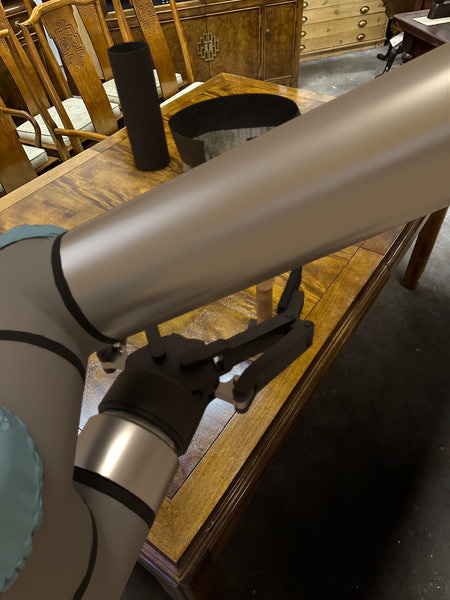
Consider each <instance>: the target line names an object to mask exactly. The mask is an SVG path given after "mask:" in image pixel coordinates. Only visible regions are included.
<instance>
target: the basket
mask: <svg viewBox="0 0 450 600" xmlns="http://www.w3.org/2000/svg"><path fill="white" fill-rule="evenodd" d="M300 115H302V113H301V111H300V108H299V105H298V104H297V102H295V101H294V100H292V99H291V98H290V97H286V96H285V95H279V94H275V93H274V94H273V93H265V92H245V93H244V92H243V93H234V94H227V95H222V96H216V97H212V98H207V99H204V100H201V101H198V102H195V103H192V104H189V105H187V106H185V107H183V108H181V109H180V110H178V111H176V112H174V113H173V114H172V115H171V116H170V117H169V118H168V120H167V125H168V127H169V131H170V133H171V134H170V135H171V136H172V137H171V138H172V139H173V141H174V145H175V147H176V149H177V152H178V154H179V157H180V159H181V162H182V171H183V172H184V173H185V172H187V171H189V170H191V169H193V168H195V167H197V166H199V165H201V164H203V163H205V162H207V161H209V160H211V159H213V158H215V157H217V156H219V155H221V154H223V153H225V152H227V151H229V150H231V149H233V148H235V147H237V146H239V145H241V144H243V143H245V142H248V141H250V140H252V139H254V138H256V137H258V136H260V135H262V134H264V133H266V132H268V131H270V130H272V129H274V128H276V127H278V126H280V125H282V124H284V123H286V122H288V121H290V120H292V119H294V118H296V117H298V116H300Z"/></svg>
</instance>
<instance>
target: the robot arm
mask: <svg viewBox="0 0 450 600" xmlns="http://www.w3.org/2000/svg"><path fill="white" fill-rule="evenodd" d="M447 207H450V40H449V41H447V42H445V43H443V44H442V45H439V46H437V47H435V48H433V49H431V50H429V51H427V52H425V53H423V54H420V55H419V56H417V57H415V58H413V59H410V60H409V61H407V62H405V63H403V64H401V65H399V66H397V67H395V68H393V69H391V70H389V71H387V72H385V73H382V74H381V75H379V76H377V77H375V78H373V79H370V80H368V81H366V82H365V83H363V84H361V85H358V86H356V87H354V88H352V89H350V90H348V91H347V92H344V93H342V94H340V95H338V96H336V97H334V98H332V99H330V100H329V101H328V100H327V101H326V102H325V103H322V104H320V105H317V106H316V107H314V108H312V109H310V110H308V111H306V112H303V113H301V115H300V116H298V117H296V118H294V119H292V120H290V121H288V122H286V123H284V124H282V125H280V126H278V127H276V128H274V129H272V130H270V131H268V132H266V133H264V134H262V135H260V136H258V137H256V138H254V139H252V140H250V141H248V142H245V143H243V144H241V145H239V146H237V147H235V148H233V149H231V150H229V151H227V152H225V153H223V154H221V155H219V156H217V157H215V158H213V159H211V160H209V161H207V162H205V163H203V164H201V165H199V166H197V167H195V168H193V169H191V170H189V171H187V172H185V171H184V172H183V173H181V174H179V175H177V176H175V177H173V178H171V179H169V180H167V181H164V182H162V183H160V184H159V185H156V186H154V187H153V188H150V189H148V190H147V191H145V192H143V193H141V194H138V195H137V196H135V197H132V198H131V199H129V200H127V201H125V202H123V203H120V204H118V205H116V206H115V207H113V208H110V209H108V210H106V211H104V212H102V213H100V214H98V215H96V216H94V217H92V218H90V219H88V220H86V221H84V222H82V223H79V224H78V225H76V226H74V227H72V228H70V229H67V228H64V227H62V226H59V225H57V224H50V223H44V224H27V223H26V224H22V225H18V226H15V227H12V228H11V229H8V230H7V231H6V232H4V233H3V234H2V235H0V600H120V599H121V596H122V595H123V592H124V589H125V587H126V586H127V583H128V581H129V579H130V576H131V575H132V572H133V570H134V568H135V566H136V563H137V561H138V559H139V556H140V554H141V552H142V550H143V548H144V545H145V543H146V541H147V539H148V537H149V534H150V532H151V529H152V527H153V525H154V523H155V521H156V519H157V517H158V514H159V512H160V511H161V508H162V506H163V503H164V502H165V499H166V497H167V495H168V493H169V491H170V488H171V486H172V484H173V482H174V479H175V478H176V475H177V473H178V471H179V469H180V467H181V462H180V457H182V456H184V455H186V454H187V453H188V450H189V449H190V446H191V444H192V441H193V440H194V437H195V435H196V432H197V430H198V428H199V426H200V424H201V422H202V420H203V417H204V414H205V412H206V409H207V408H208V406H209V405H210V403H212V402H213V401H214V400H216V399H218V400H221V401H223V402H226V403H228V404H230V405H232V406H233V409H234V412H235V413H237V414H239V415H245V414H246V413H248V411H249V410H250V408H251V406H252V405H253V402H254V400H255V399H256V397H257V395H258V394H259V393H260V392H261V391H262V390H263V389H264V388H266V387H267V386H268V385H269V384H270V383H271V382H272V381H274V380H275V379H276V378H277V377H278V376H279V375H280V374H281V373H283V372H284V371H285V370H286V369H287V368H289V367H290V366H291V364H293V363H294V362H295V361H296V360H298V359H299V358H300V357H301V356H302V355H303V354H304V353H306V352H307V351H308V350H309V349H310V348H311V347H312V346H313V344H314V336H315V326H316V325H315V323H314V321H312V320H310V319H302V318H301V315H302V312H303V309H304V306H305V296H306V295H305V291H303V290H299V289H300V287H301V284H302V279H303V266H306V265H308V264H310V263H313V262H315V261H318V260H321V259H322V258H325V257H328V256H331V255H333V254H335V253H338V252H340V251H342V250H344V249H348V248H349V247H352V246H355V245H358V244H359V243H362V242H365V241H367V240H369V239H371V238H373V237H377V236H379V235H382V234H385V233H386V232H389V231H391V230H394V229H396V228H398V227H402V226H403V225H406V224H408V223H411V222H413V221H416V220H418V219H420V218H423V217H425V216H428V215H430V214H432V213H435V212H438V211H440V210H443V209H444V208H447ZM289 272H290V273H289ZM287 273H289V275H288V278H287V280H286V282H285V285H284V288H283V290H282V293H281V295H280V298H279V300H278V303H277V304H276V315H275V316H272V318H270V319H268V320H266V321H264V322H262V323H260V324H257V325H255V326H253V327H251V328H249V329H247V328H246V329H245V330H243V331H241V332H239V333H237V334H234V335H232V336H230V337H228V338H221V337H220V338H217V339H215V340H213V341H211V342H209V343H207V344H206V343H205V340H204V339H199V338H188V337H185V336H184V335H182V334H180V333H175V332H171V333H170V334H166V335H163V336H161V332H160V328H159V325H162V324H164V323H167V322H169V321H172V320H174V319H176V318H179V317H181V316H184V315H187V314H189V313H191V312H194V311H196V310H199V309H200V308H203V307H206V306H208V305H211V304H213V303H215V302H218V301H221V300H223V299H226V298H227V297H228V298H229V297H230V296H234V295H235V294H238V293H240V292H242V291H245V290H247V289H249V288H252V287H256V285H257V284H260V283H262V282H264V281H267V280H272V279H274V278H276V277H279V276H281V275H285V274H287ZM143 332H144V334H145V338H146V341H147V344H146V345H143V346H142V347H140V348H138V349H136V350H133V351H132V352H131V353H129V352H128V350H127V341H128V338H131V337H132V336H136V335H138V334H140V333H143ZM266 350H267V351H266ZM264 351H266V352H265V353H263V354H262V355H261V356H260V357H259V358H257V359H256V360H255V361H251V363H250V364H249V365H248V366H247V367H246V368H245V369H244V370H243V371H242V373H240V375H239V374H233V376H232V378H230V379H229V380H228V381H221V379H220V378H221V377H222V376H225V375H227V374H229V373H230V372H231V371H232V370H233V369H234V367H235V366H237V365H240V364H241V363H244V362H246V361H247V360H248V359H250V358H252V357H254V356H256V355H258V354H260V353H262V352H264ZM94 353H95V354H96V357H97V360H98V361H99V363H100V365H101V368H102V369H103V372H104V373H105V374H107V375H111V374H113V373H115V372H116V371H117V370H118V371H120V372H119V374H118V375H117V376H116V377H115V379H114V381H113V382H112V383H111V385H110V387H109V388H108V390H107V391H106V393H105V395H104V396H103V397H102V399H101V401H100V402H99V403H98V406H97V413H98V414H93V415H91V416H89V417H88V419H87V421H86V422H85V424H84V425H83V427H82V428H81V430H80V424H81V417H82V407H83V406H82V405H83V399H84V392H85V387H86V381H87V371H88V366H89V359H90V357H91V356H92V355H93V354H94ZM215 358H218V360H217V361H215ZM79 430H80V431H79Z"/></svg>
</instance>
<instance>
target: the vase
mask: <svg viewBox="0 0 450 600" xmlns="http://www.w3.org/2000/svg"><path fill="white" fill-rule="evenodd" d="M106 53H107V54H106V55H107V58H108V61H109V66H110V69H111V73H112V77H113V81H114V86H115V89H116V94H117V97H118V102H119V106H120V109H121V113H122V117H123V121H124V125H125V129H126V133H127V138H128V142H129V146H130V149H131V153H132V158H133V161H134V165H135V168H136V169H138V170H139V171H143V172H154V171H155V172H156V171H159V170H162V169H164V168H165V167H167V166H168V165H169V164H170V162H171V157H170V150H169V146H168V140H167V134H166V130H165V125H164V119H163V112H162V108H161V103H160V99H159V92H158V91H159V90H158V86H157V82H156V76H155V70H154V63H153V59H152V55H151V49H150V44H149V43H148V42H146V41H141V40H140V41H139V40H133V41H132V40H131V41H125V42H119V43H116V44H114V45H111V46H109V47H108V48H107V49H106Z"/></svg>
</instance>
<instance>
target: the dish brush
mask: <svg viewBox="0 0 450 600" xmlns="http://www.w3.org/2000/svg"><path fill="white" fill-rule="evenodd" d="M273 285H274V284H273V282H272V281H271V279H269V280H267V281H264V282H262V283H260V284H257V285H255V301H256V302H255V303H256V307H255V308H256V318H250V321H249V323H248V325H247V327H246V330H247V329H249V328H251V327H253V326H255V325H257V324H260V323H262V322H264V321H266V320H268V319H270V318H272V317H273V302H274V301H273V300H274V299H273V296H274V295H273V290H274V289H273V288H274V287H273ZM266 351H267V350H266ZM266 351H264V352H262V353H260V354H258V355H256V356H254V357H252V358H250V359H248V360H249V361H251V362H254V361H255V360H256V359H257V358H259V357H260V356H261V355H262V354H263V353H265V352H266Z"/></svg>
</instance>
